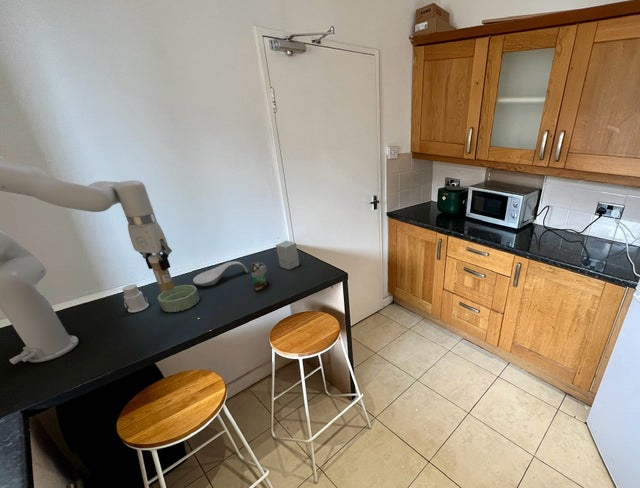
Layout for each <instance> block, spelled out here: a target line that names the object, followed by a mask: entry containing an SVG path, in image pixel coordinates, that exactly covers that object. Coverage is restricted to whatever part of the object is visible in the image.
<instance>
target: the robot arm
mask: <svg viewBox="0 0 640 488" xmlns="http://www.w3.org/2000/svg"><path fill="white" fill-rule="evenodd" d="M0 192H5V193H11V194H15V195H23V196H26V197H27V196H28V197H32V198H35V199H37V200H40V201H42V202H45V203H48V204H52V205H54V206H56V207H57V206H58V207H62V208H66V209H71V210H77V211H84V212H89V213H101V212H105V211H109V209H111V207H113V206H115V205H118V204H120V206H121V208H122V211H123V213H124V217H125V218H126V221H127V231H128V235H129V239H130V242H131V245H132V247H133V249H134V251H136V253H137V252H138V253H139V254H140V255H141V256H142V258H143V259H144V260H145V263H146V266H147V268H148V269H149V270H153V269H152V266H151V264H150V262H149V260H148V257H149V256H151V255H154V254H156V255H157V257H158V258H159V260H158V262H159V265H160V267H161V270H162V271H164V270H166V269H168V270H169V269H170V268H171V263H170V260H169V255H170V254H171V253H172V252H173V250H172V249H171V247H170V246H169V244H168V241H167V238H166V236H165V233H164V232H163V229H162V227H161V225H160V223H159V222H158V220H157V218H156V217H157V216H156V214H155V212H154V208H153V206H152V203H151V200H150V196H149V194H148V191H147V188H146V186H145V183H144V182H143V181H141V180H124V181H106V180H102V181H101V180H100V181H94V182H92V183H90V184H89V185H84V184H78V183H73V182H68V181H65V180H62V179H58V178H55V177H52V176H50V175H49V174H47V173H46V172H45V171H44V170H43V169H41V168H40V167H37V166H35V165H34V166H33V165H29V164H24V163H19V162H15V161H11V160H7V159H5V158H4V157H3V156H2V155H0ZM161 254H162V255H161ZM46 274H47V267H46V264H45V263H44V261H42V260H41V259H40V258H39V257H38V256H37V255H36V254H34V253H32V251H30V249H28V248H27V247H25V246H24V245H23V244H21V242H19V241H18V240H17V239H15V238H14V237H12V236H11V235H10V234H8V233H6V232H4V231H1V230H0V310H1V311H2V313H3V314H4V316H5V317H6V318H7V320H8V321H9V323H10V324H11V325H12V327H13V328H14V330H15V331H16V333H17V335H18V336H19V338H20V339H21V340H22V343H24V345H25V346H23V347H22V350H23V351H21V352H20V354H17V355H16V356H14V357H12V358H10V359H9V362H10V363H11V364H13V365H16V364H18V363H19V362H21V361H23V363H25V362H29V363H42V362H46V361H51V360H54V359H56V358H59V357H61V356H63V355H65V354H67V353H69V352H71V351H72V350H73V349H75V348H76V347H77V345H78V344H79V343H80V341H79V338H78V336H76V335H69V334H68V332H67V330H66V328H65V327H64V325H63V323H62V321H61V320H60V318H59V317H58V315H57V313H56V311H55V309H54V308H53V306H52V304H51V302H50V301H49V299H48V298H47V297H46V296H45V295H44V294H43V293H42V292H41V291H39V289H38V288H37V287H36V286H37V284H38V283H39V282H41V280H42V279H43V278H44V277H45V276H46Z"/></svg>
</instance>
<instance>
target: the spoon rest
mask: <svg viewBox="0 0 640 488" xmlns="http://www.w3.org/2000/svg"><path fill="white" fill-rule="evenodd" d="M232 266H238V267H239V266H240V267H242V270H243V272H244V273H246V274H248V273H249V269H248V268H247V266H246V265H244V264H243V263H242V262H241V261H227V262H225V263H223V264H221V265H218V266H216V267H213V268H211V269H209V270H206V271H203V272H201V273H198V274H196V276H194V277H193V279H192V282H193V283H194V284H195V285H197V286H200V287H210V286H213V285H216V284H217V283H218V282H219V281H220V280H221V278H222V276H223V275H224V274H225V272H226V271H227V270H228V269H229V268H230V267H232Z"/></svg>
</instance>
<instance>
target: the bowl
mask: <svg viewBox="0 0 640 488" xmlns="http://www.w3.org/2000/svg"><path fill="white" fill-rule="evenodd" d="M200 298H201V297H200V294H199V291H198V288H197V287H196V286H195V285H193V284H192V285H191V284H182V285H177V286H174V288H173V289H172V290H169V291H161V293H159V295H158V296H157V300H158V303H159V306H160V308H161V310H162V311H164V312H168V313H177V312H181V311H185V310H188V309H190V308H192V307H193V306H195V305H196V304H198V303H199V301H200Z"/></svg>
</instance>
